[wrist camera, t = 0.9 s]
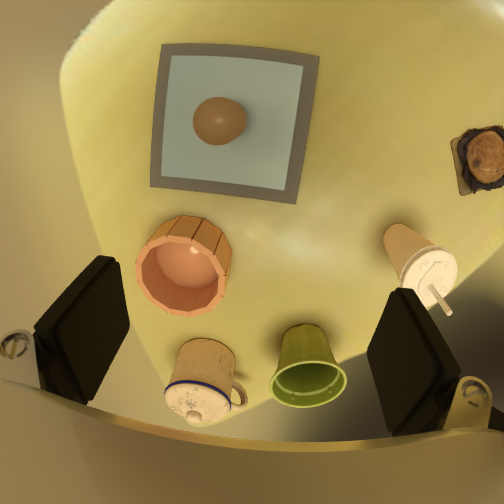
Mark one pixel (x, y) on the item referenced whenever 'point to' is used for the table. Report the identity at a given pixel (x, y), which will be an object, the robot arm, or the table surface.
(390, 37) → the table surface
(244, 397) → the teacup with lid
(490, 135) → the bread roll
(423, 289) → the smoothie
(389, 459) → the robot arm
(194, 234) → the bowl
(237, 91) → the cover sheet
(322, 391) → the plant pot
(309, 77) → the mat
